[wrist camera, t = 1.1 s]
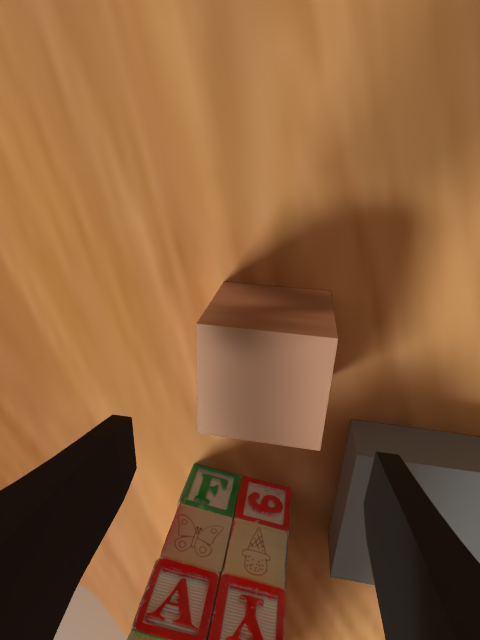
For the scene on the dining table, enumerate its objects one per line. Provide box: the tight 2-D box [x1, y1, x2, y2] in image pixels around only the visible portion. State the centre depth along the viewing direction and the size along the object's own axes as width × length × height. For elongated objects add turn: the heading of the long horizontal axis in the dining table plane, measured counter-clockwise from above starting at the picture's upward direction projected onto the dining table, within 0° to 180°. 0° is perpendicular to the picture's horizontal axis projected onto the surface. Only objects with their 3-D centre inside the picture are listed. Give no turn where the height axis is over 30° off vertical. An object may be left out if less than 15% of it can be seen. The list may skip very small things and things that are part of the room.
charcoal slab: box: [328, 419, 480, 585], centre depth 20 cm, size 9×9×3 cm
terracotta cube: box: [197, 282, 338, 451], centre depth 17 cm, size 5×5×5 cm
